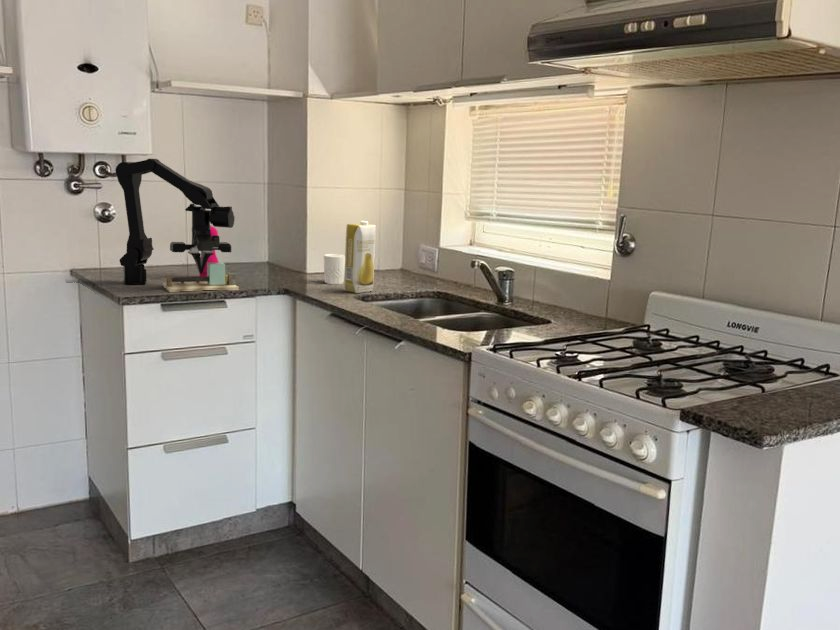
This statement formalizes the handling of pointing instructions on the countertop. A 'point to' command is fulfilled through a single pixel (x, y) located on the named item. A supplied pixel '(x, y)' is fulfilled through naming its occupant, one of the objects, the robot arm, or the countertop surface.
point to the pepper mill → (213, 257)
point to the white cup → (334, 268)
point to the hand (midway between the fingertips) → (200, 273)
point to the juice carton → (359, 257)
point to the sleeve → (216, 273)
